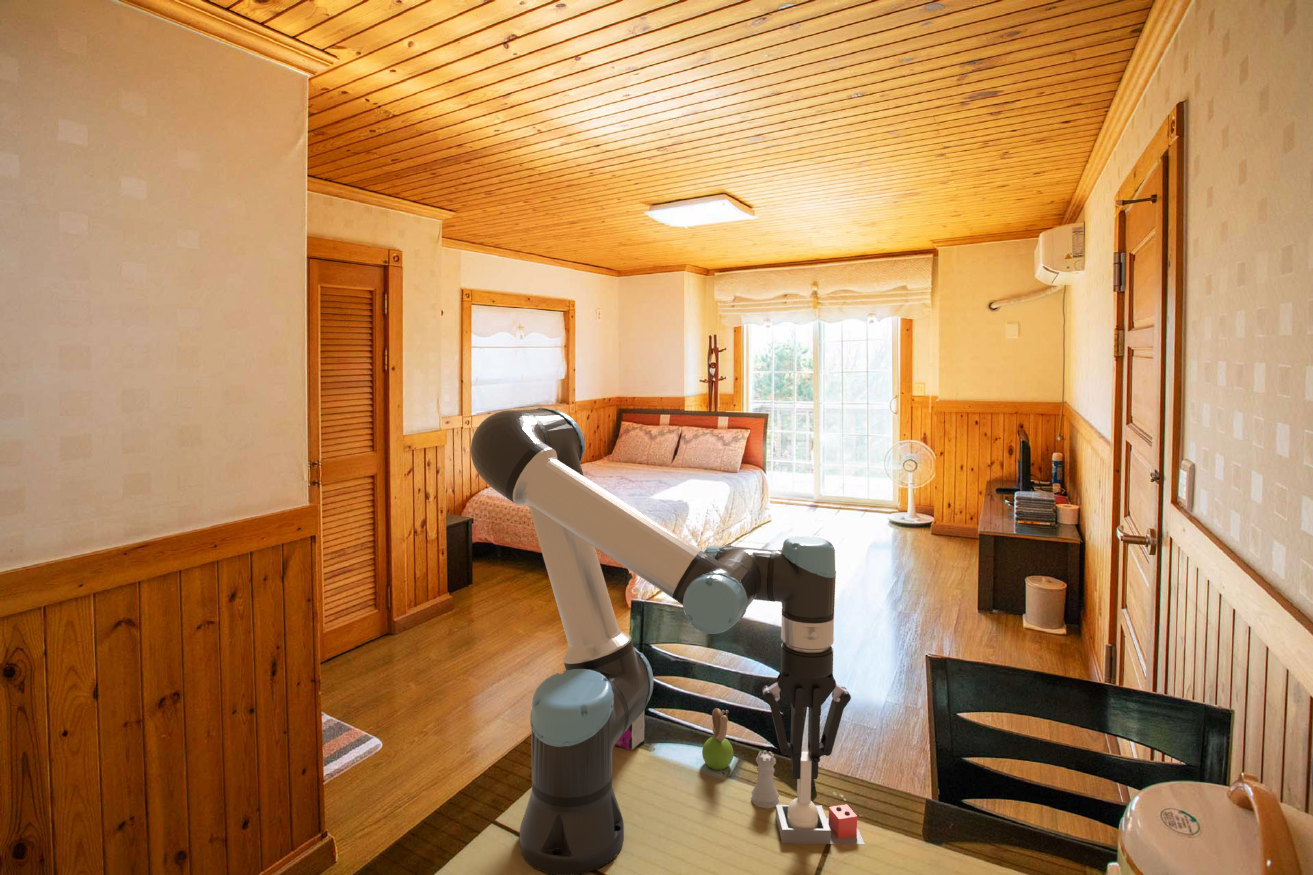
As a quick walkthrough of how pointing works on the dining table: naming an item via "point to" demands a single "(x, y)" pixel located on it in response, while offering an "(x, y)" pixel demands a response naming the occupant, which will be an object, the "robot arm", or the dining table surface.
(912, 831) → the dining table surface
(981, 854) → the dining table surface
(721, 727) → the snail figurine
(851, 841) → the grey compartment tray
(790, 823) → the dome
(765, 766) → the rook chess piece
